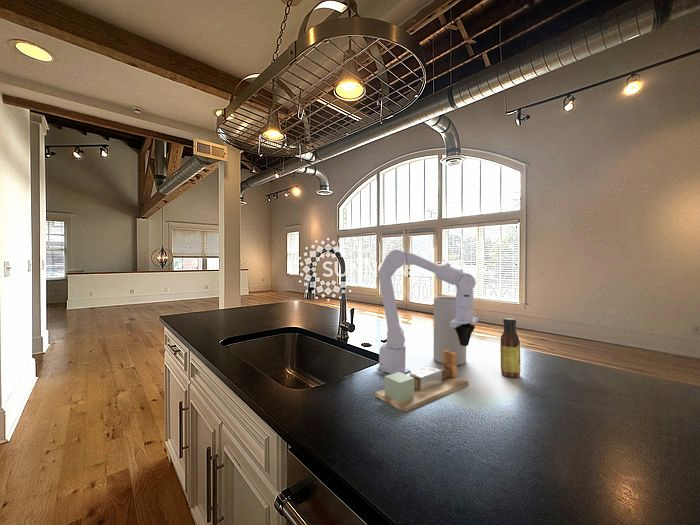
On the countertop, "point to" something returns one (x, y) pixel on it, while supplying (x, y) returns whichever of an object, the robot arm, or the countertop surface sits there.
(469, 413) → the countertop surface
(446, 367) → the brown piece
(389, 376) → the pale green block
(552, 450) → the countertop surface
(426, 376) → the metal sleeve
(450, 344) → the cylinder vase
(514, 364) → the sauce bottle
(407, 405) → the base board
